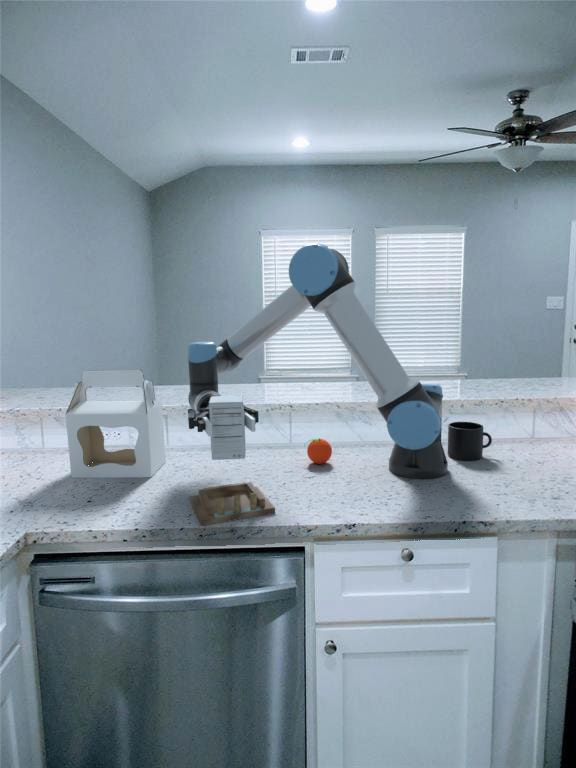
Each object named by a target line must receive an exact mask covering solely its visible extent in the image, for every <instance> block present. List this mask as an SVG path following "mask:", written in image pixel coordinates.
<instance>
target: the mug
mask: <svg viewBox="0 0 576 768" xmlns="http://www.w3.org/2000/svg"><path fill="white" fill-rule="evenodd" d="M447 427H448V430H447V455H448V457H450V458H451V459H454V460H458V461H466V462H467V461H470V462H471V461H478V460H480V459H482V458H483V451H484V450H483V449H486V448H488V447H489V448H490V446H491V445H492V442H493V441H492V440H493V439H492V436H491V435H490V433H488V432H485V431H484V425H482V424H481V423H477V422H472V421H453V422H449V424H448V426H447ZM484 436H485V437H487V438H488V442H487V443H486V444H484Z"/></svg>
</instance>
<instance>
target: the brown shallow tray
mask: <svg viewBox="0 0 576 768" xmlns="http://www.w3.org/2000/svg"><path fill="white" fill-rule="evenodd" d="M197 492H198V494H197V495H191V496H189V502H190V505H191V507H192V508H193V511H194V514H195V515H196V518H197V517H198V518H197V520H198V522H199V525H200V526H201V525H202V526H207V525H206V524H208V525H212V524H211V523H214V524H220V523H225V522H230V521H229V520H231V521H235V520H234V519H237V520H240V519H239V518H243V519H246V518H245V517H249V518H252V517H251V516H255V517H259V516H258V515H261V516H264V515H263V514H267V515H270V514H269V513H273V514H275V513H276V507H275V506H274V505H273V504H272V503H271V501H270V500H269V499H268V498H267V497H266V495H265V494H264V493H263V492H262V491H261V489H259V487H258V486H257V485H256V486H255V485H254V484H253V483H252V482H251V481H250V482H245V481H243V482H237V483H229V484H222V485H217V486H209V487H203V488H201V489H198V490H197ZM224 521H225V522H224ZM217 522H218V523H217ZM219 522H220V523H219Z"/></svg>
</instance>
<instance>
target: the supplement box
mask: <svg viewBox="0 0 576 768" xmlns="http://www.w3.org/2000/svg"><path fill="white" fill-rule="evenodd" d="M244 406H245V404H244V395H239V394H238V395H221V396H213V397H211V398H210V401H209V413H210V422H211V423H212V436H210V446H211V447H210V448H211V452H210V453H211V460H213V461H217V460H218V461H221V460H242V459H243V460H244V459H246V453H247V452H246V450H247V449H246V431H245V430H246V426H245V423H244Z"/></svg>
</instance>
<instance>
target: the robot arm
mask: <svg viewBox="0 0 576 768" xmlns="http://www.w3.org/2000/svg"><path fill="white" fill-rule="evenodd" d="M288 277H289V281H290V283H291V285H290V286H289V287H288V288H286V290H284V291H283V292H282V293H281V294H279V295H278V296H277V297H276V298H274V299H273V300H272V301H271V302H270V303H269V304H267V305H266V306H265V307H264V308H262V309H261V310H260V311H259V312H257V313H256V314H255V315H254V316H253V317H251V318H250V319H249V320H248V321H247V322H245V323H244V324H243V325H241V326H240V327H239V328H238V329H237V330H236V331H234V332H233V333H232V334H231V335H230V336H228V337H227V338H226V339H225V340H223V341H222V342H220V344H218V345H217V344H216V342H215V341H196V342H195V341H194V342H191V343H189V345H188V348H187V353H188V354H187V362H188V364H187V365H188V377H189V393H188V396H187V397H188V398H187V399H188V404H189V406H190V408H188V409H187V420H188V429H189V430H193V429H195V427H197V432H198V433H202V432H205V433H206V435H207V436H208V437H211V436H212V423H211V422H210V413H209V401H210V398H211V397H213V396H222V395H221V394H220V393H219V374H223V373H224V372H225V373H226V372H229V371H232V370H235V368H238V367H239V365H240V364H241V363H242V361H243V360H244V359H246V358H247V357H248V356H249V355H250V354H252V353H253V352H254V351H256V350H257V349H259V347H261V346H262V345H263V344H265V342H267V341H268V340H269V339H271V338H272V337H273V336H275V335H276V334H277V333H279V332H281V330H282V329H284V328H285V327H287V325H289V324H290V323H291V322H293V321H294V320H295V319H297V318H298V317H299V316H301V314H303V313H304V312H306V311H307V310H308V309H309V308H312V309H313V311H314V312H319V313H322V314H324V316H325V317H326V319H327V321H328V322H329V323H330V325H331V327H332V329H334V331H335V333H336V334H337V336H338V337H339V339H340V341H341V342H342V344H343V345H344V347H345V348H346V350H347V352H348V353H349V355H350V357H352V359H353V361H354V362H355V364H356V365H357V367H358V369H359V370H360V371H361V373H362V375H363V376H364V378H365V379H366V381H367V382H368V384H369V386H370V387H371V389H372V390H373V392H374V393H375V395H376V396H377V403H376V408H377V409H378V411H379V413H380V414H381V416H382V418H383V419H384V421H385V423H386V428H387V432H388V435H389V437H390V438H391V439H392V441H393V442H394V444H393V447H392V450H391V454H390V457H389V458H388V470H389V471H390V472H391V473H393V474H395V475H398V476H401V477H405V478H410V479H411V478H412V479H434V478H439V477H442V476H445V475H446V474H447V473H448V467H449V466H448V464H449V463H448V460H447V456H446V453H445V449H444V447H443V444H442V430H443V429H442V428H443V427H442V424H443V419H442V418H443V398H444V395H443V388H442V386H441V385H439V384H434V383H433V384H429V383H428V384H427V383H426V384H425V383H421V381H420V380H418V379H416V378H415V379H414V378H411V377H409V375H408V374H407V373H406V371H405V369H404V368H403V366H402V365H401V363H400V361H399V360H398V358H397V356H396V355H395V354H394V352H393V350H392V349H391V348H390V346H389V344H388V342H387V341H386V340H385V338H384V336H383V335H382V334H381V332H380V330H379V329H378V327H377V326H376V324H375V323H374V321H373V319H372V318H371V316H370V315H369V313H368V312H367V310H366V309H365V307H364V306H363V305H362V303H361V301H360V300H359V298H358V296H357V295H356V293H355V289H356V282H355V279H353V277H352V275H351V274H350V269H349V263H348V261H347V259H346V258H345V256H344V255H343V254H342V253H341V252H340V251H338V250H336V249H334V248H330V247H329V246H328V245H325V244H323V243H310V244H306V245H303V246H302V247H300V248H299V249H298V250H297V251H296V252H295V253H294V254H293V256H292V257H291V259H290V262H289V265H288ZM259 419H260V418H259V411H258V410H255V409H253V408H250V407H248V406H245V405H244V423H245V428H247V429H248V430H249V431H250V432H253V433H254V432H256V425H257V423H259Z"/></svg>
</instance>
